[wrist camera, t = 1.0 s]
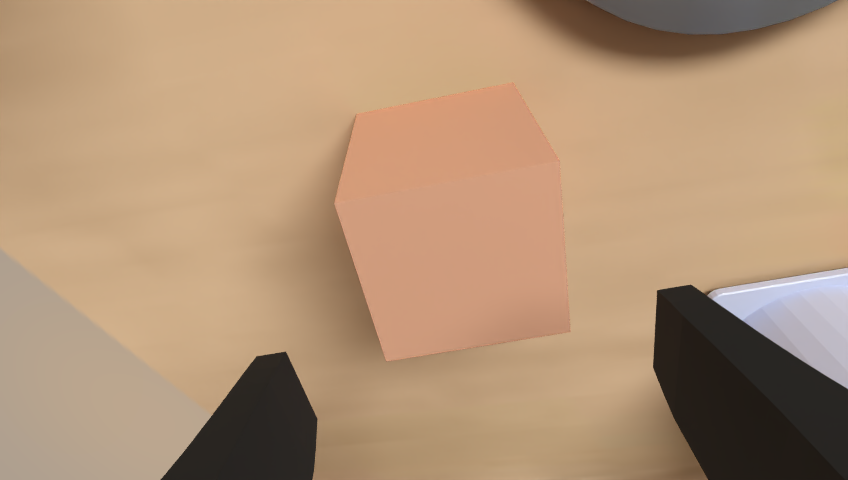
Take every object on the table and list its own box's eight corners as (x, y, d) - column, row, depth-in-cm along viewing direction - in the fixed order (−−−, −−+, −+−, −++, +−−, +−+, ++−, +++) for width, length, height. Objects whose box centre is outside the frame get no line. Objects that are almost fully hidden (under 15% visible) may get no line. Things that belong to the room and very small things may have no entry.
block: (527, 218, 19) (570, 331, 14) (392, 242, 19) (386, 361, 14) (513, 81, 16) (559, 160, 11) (356, 113, 17) (334, 203, 12)
